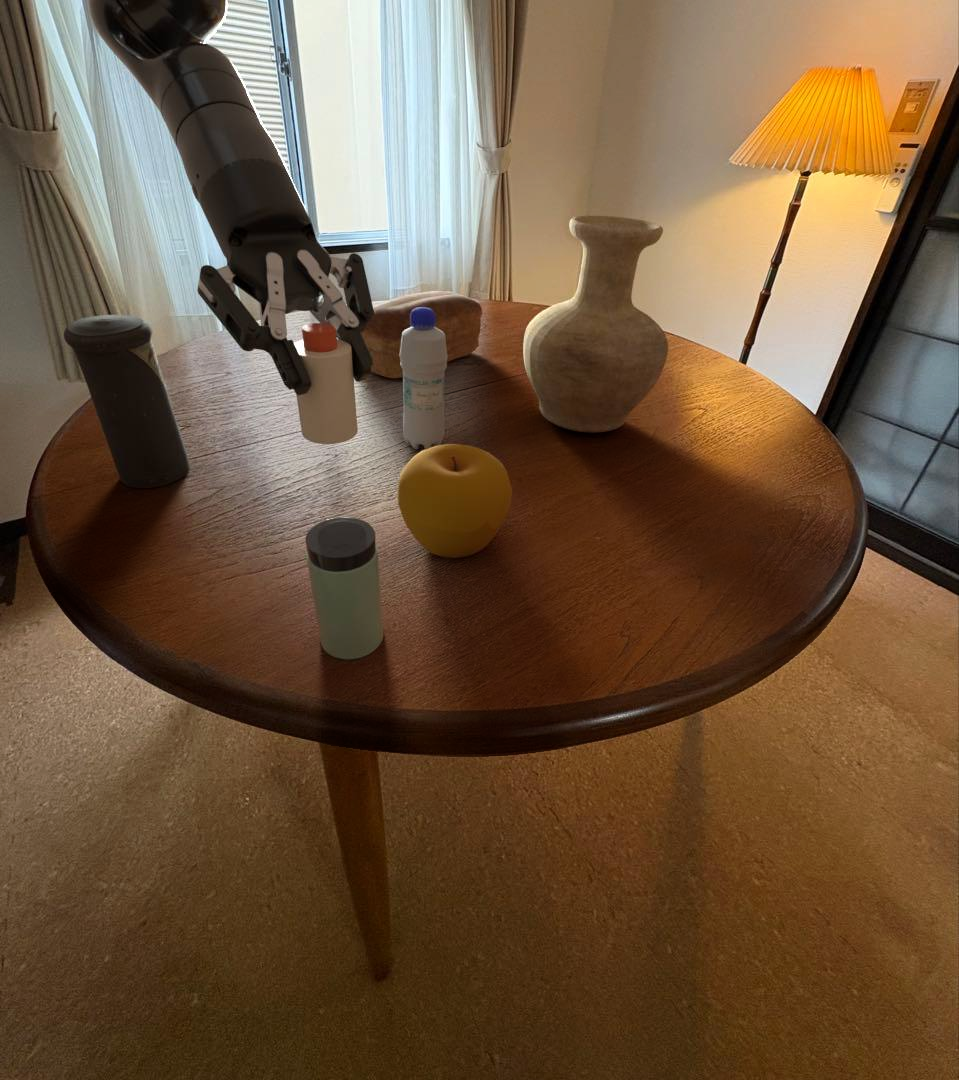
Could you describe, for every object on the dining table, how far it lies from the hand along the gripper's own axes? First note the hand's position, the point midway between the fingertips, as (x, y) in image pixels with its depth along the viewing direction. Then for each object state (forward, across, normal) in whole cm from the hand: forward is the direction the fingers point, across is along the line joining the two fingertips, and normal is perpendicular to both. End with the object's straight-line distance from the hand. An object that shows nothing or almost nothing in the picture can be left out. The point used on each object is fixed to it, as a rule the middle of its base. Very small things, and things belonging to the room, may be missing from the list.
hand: (335, 382), depth 45 cm
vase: (+6, +53, +26) cm, 59 cm away
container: (-9, -9, +42) cm, 44 cm away
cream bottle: (+2, 0, +5) cm, 6 cm away
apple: (+16, +14, +17) cm, 27 cm away
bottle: (0, +26, +32) cm, 41 cm away
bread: (-21, +47, +53) cm, 74 cm away
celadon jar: (+20, -4, +12) cm, 24 cm away
